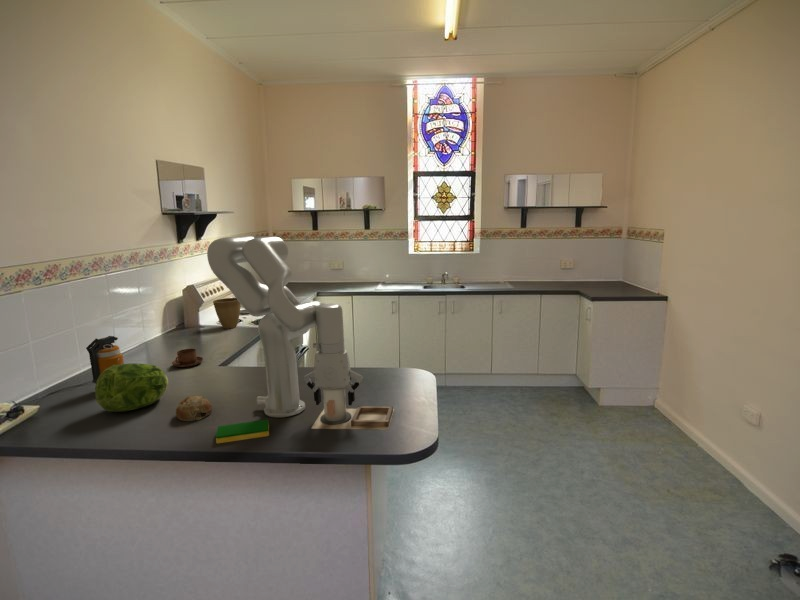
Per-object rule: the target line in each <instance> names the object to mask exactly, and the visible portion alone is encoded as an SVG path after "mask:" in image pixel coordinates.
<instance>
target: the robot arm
mask: <svg viewBox="0 0 800 600" xmlns="http://www.w3.org/2000/svg"><path fill="white" fill-rule="evenodd" d="M288 255H289V248H288V245H287V243H286V242H285V241H284V239H282V238H280V237H278V236H275V235H273V236H271V235H270V236H269V235H268V236H266V235H238V236H236V235H235V236H225V237H221V238H217V239H215V240H213V241H212V242H210V244H209V245H208V247H207V253H206V256H207V261H208V265H209V267H210V270H211V271H212V272H213V274H214V276H216V278H218V280H219V281H220V282H221V283H222V284H223V285H224V286H226V287H227V288H228V290H229V291H230V292H231V293H232V295H233V296H234V298H237V300H238V301H239V302H240V303H241V306H242V308H244V310H245V311H246V312H247V313H248V314H249V315H250V316H252V317H255V318H256V317H261V319H260V320H259V322H258V326H257V329H258V330H257V331H258V334H259V335H258V336H259V338H260V342H261V345H262V351H263V356H264V364H265V367H264V368H265V377H266V388H267V395H266V396H263V395H262V396H261V395H260V396H259V395H258V396H257V397H256V402H257V405H259V406H261V405H264V408H263V410H264V411H263V412H264V414H265V415H266V416H268V417H271V418H286V417H292V416H295V415H298V414H300V413H301V412H303V411H304V410H305V409H306V402H305V401H304V400H302V399H300V389H299V377H298V362H297V353H296V350H295V348H294V346H293V345H292V343H291V341H290V340H292V339H294V338H297V337H299V336H302V335H305V334H306V333H308V332H309V330H310V329H311V328H312V329H313V328H315V327H316V338H317V342H314V343H313V344H312V347H313V348H314V349H316V352H315V354H314V364H313V365H314V366H313V371H310V372H309V373H307V374H305V375H304V376H303V380H304V381H305V383H306V384H307V385H306V386H308V388H309V389H311V391H312V393H313V400H314V402H315V405H316V406H319V405H320V404H321V402H322V394H321V393H322V392H321V388H323V387H345V389H347V390H348V393H347V402H348V403H347V404H348V406H352V404H353V403H354V402H355V400H356V398H355V396H356V395H355V391H356V389H357V388H358V387H359V386H360V384H361V382H362V381H363V378H364V376H363V375H361V374H360V373H358V372H356V371H353V369H351V364H350V358H349V354H348V351H347V349H345V333H344V316H343V314H344V313H343V307H342V306H341V305H340V304H337V303H324V302H323V301H320V300H310V301H307V302H303V303H301V301H300V300H299V299H298V298H297V297H296V296H295V295H294V294H293V292H292V291H291V290H290V288H289V287H287V285H288V283H289V282H290V281H291V279H292V277H293V271H292V269H290V267H289V266H288V264H287V263H286V262H285V260H286V259H287V258H288ZM241 263H248V265H250V267H251V268H252V269H253V271H254V272H255V273H256V274H257V275H258V277H259V278H260V279H261V281H262V282H263V283H261V282H260V281H259V280H258V279H257V278H256V276H255V275H254V274H253V273H252V272H251V271H249V270H248V269H247V268H245V267H243V266H241V265H239V264H241ZM311 378H313V381H312V379H311ZM352 378H354V379H355V380H356V381H355V382H354V383H353V382H352Z"/></svg>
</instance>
